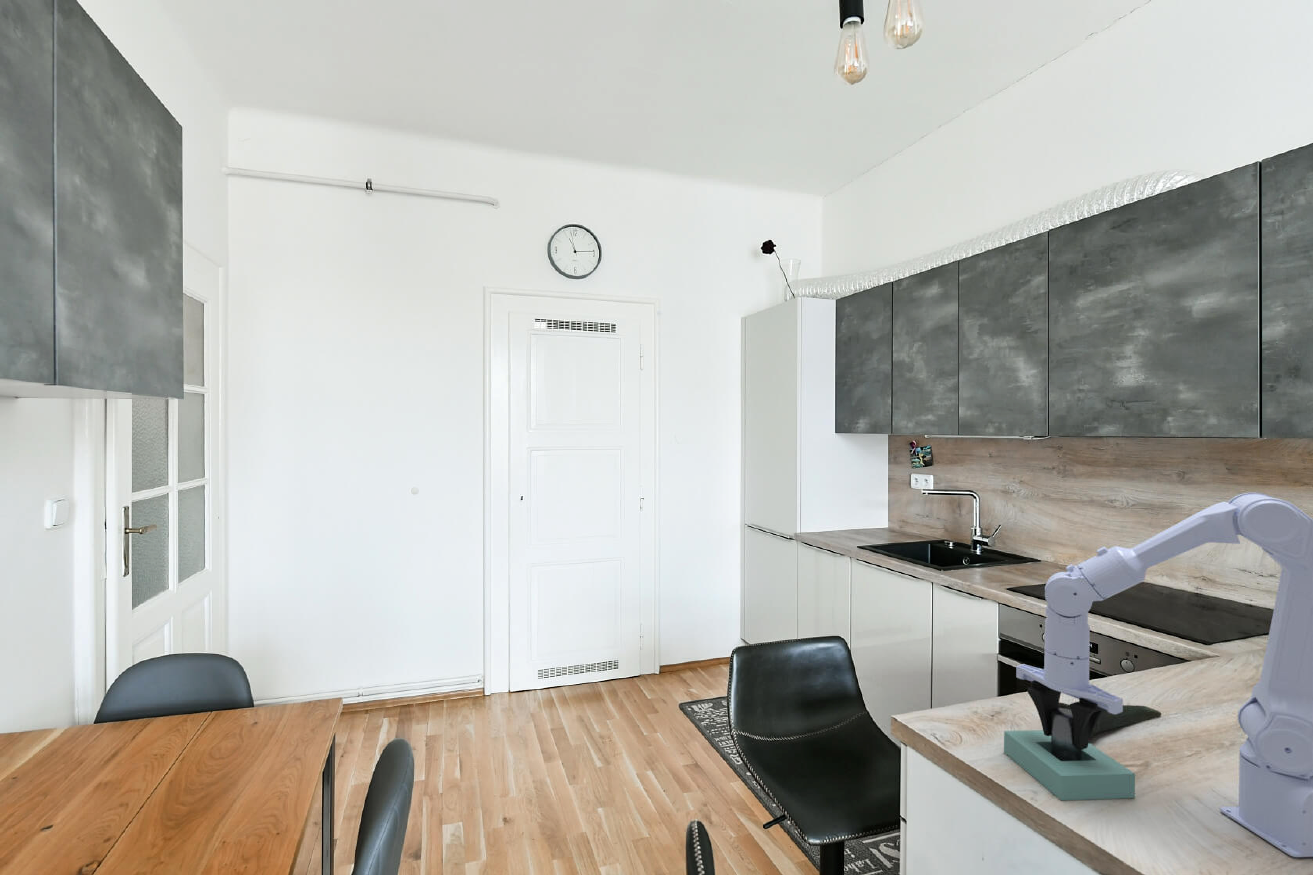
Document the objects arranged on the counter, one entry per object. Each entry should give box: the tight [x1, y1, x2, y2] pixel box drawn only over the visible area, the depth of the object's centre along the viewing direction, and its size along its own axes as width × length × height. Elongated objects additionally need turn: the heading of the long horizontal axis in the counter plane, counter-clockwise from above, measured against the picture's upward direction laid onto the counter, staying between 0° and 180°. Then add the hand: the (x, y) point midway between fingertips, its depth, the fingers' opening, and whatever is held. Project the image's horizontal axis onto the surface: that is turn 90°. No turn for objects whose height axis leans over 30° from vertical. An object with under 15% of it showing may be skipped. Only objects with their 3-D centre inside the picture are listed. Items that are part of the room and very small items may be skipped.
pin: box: [1051, 708, 1082, 761], centre depth 94 cm, size 4×4×7 cm
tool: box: [1058, 702, 1162, 737], centre depth 108 cm, size 28×6×7 cm, turn 110°
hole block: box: [1003, 729, 1136, 801], centre depth 94 cm, size 13×11×4 cm
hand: (1065, 740), depth 94 cm, fingers closed on pin, 4 cm apart
